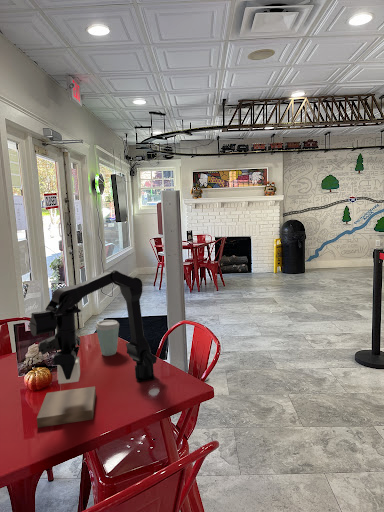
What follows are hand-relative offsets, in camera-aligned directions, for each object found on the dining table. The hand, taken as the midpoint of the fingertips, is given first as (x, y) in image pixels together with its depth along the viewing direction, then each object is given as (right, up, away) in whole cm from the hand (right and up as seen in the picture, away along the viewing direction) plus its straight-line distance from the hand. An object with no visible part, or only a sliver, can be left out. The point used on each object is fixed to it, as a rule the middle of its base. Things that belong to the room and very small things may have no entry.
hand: (69, 375), depth 116 cm
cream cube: (0, -1, 0) cm, 1 cm away
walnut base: (0, -12, +1) cm, 12 cm away
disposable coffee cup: (+2, -6, +48) cm, 48 cm away
